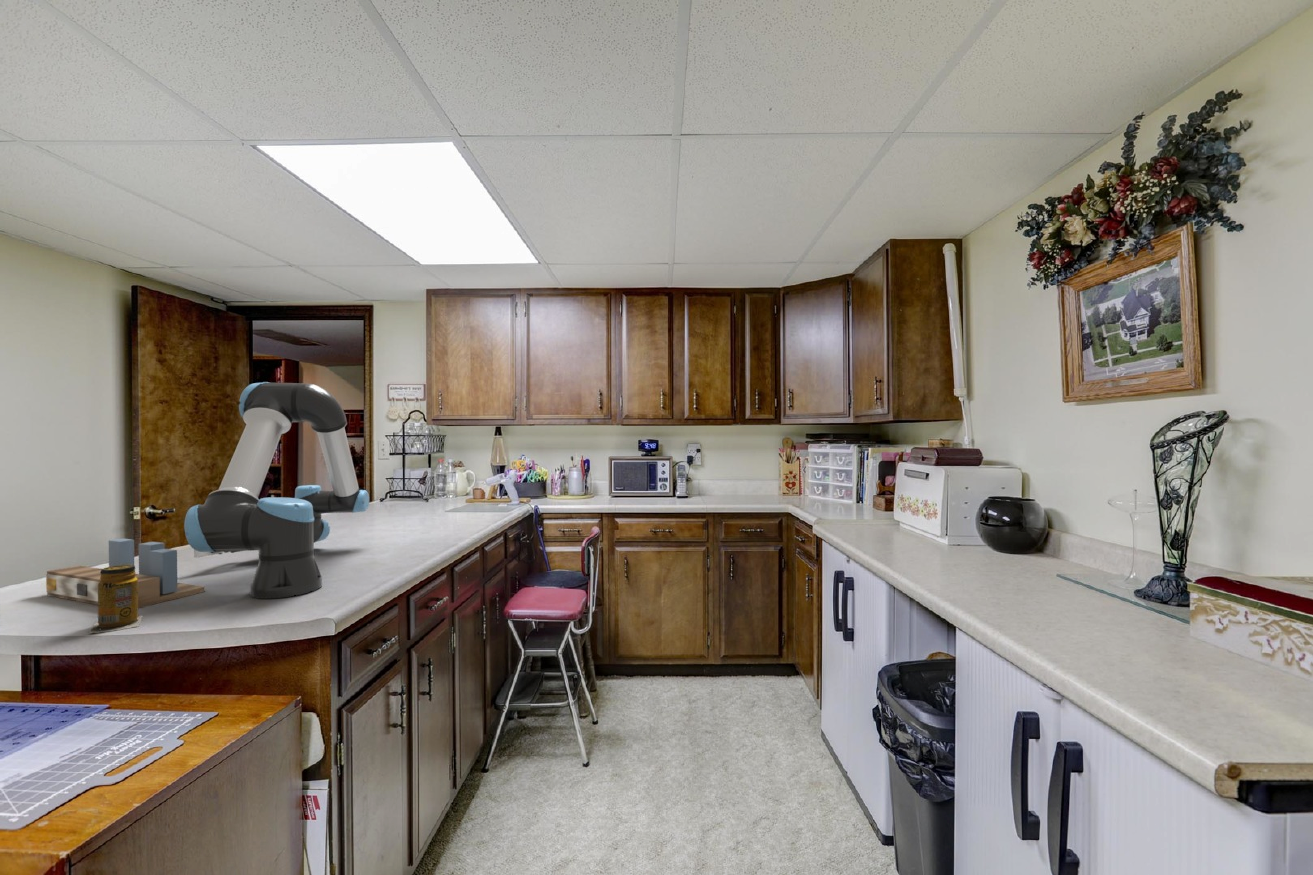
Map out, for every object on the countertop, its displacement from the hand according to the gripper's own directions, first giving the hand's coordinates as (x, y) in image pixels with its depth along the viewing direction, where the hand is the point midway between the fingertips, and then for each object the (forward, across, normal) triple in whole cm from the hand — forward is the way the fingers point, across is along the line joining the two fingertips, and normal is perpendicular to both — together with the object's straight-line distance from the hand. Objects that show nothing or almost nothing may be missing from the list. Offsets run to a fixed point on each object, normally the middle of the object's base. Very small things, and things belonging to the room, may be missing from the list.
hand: (195, 552), depth 154 cm
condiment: (+31, -29, -7) cm, 43 cm away
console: (+17, -3, -6) cm, 19 cm away
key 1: (+12, +10, -5) cm, 16 cm away
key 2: (+16, -16, -5) cm, 23 cm away
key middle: (+12, -3, -5) cm, 13 cm away
